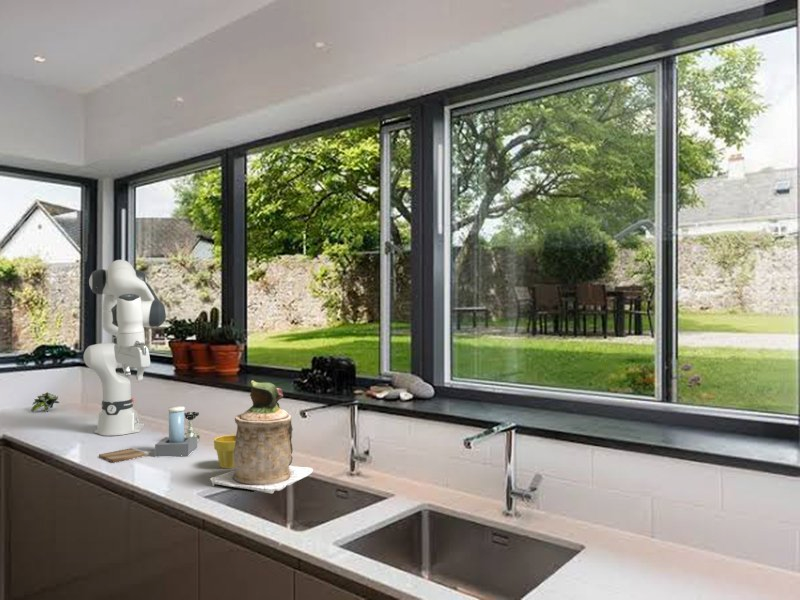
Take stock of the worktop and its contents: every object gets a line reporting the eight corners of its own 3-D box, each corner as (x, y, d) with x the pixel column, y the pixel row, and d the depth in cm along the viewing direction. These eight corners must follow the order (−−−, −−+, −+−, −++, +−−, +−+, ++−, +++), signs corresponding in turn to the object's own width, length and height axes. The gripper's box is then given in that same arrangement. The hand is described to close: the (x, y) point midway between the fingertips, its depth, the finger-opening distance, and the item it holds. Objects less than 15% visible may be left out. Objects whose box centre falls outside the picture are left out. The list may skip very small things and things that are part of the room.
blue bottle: (171, 450, 230) (171, 406, 230) (186, 450, 230) (186, 406, 230) (166, 454, 224) (166, 409, 224) (182, 454, 224) (182, 408, 224)
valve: (193, 445, 238) (193, 415, 238) (178, 444, 240) (178, 414, 240) (202, 441, 245) (202, 412, 245) (187, 440, 246) (187, 411, 246)
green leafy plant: (46, 420, 314) (60, 399, 320) (51, 419, 306) (65, 398, 312) (25, 409, 309) (39, 389, 315) (30, 408, 301) (44, 387, 307)
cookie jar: (275, 495, 178) (275, 387, 178) (207, 486, 186) (207, 383, 186) (315, 472, 201) (315, 377, 201) (252, 465, 210) (252, 374, 210)
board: (98, 457, 220) (98, 454, 220) (131, 450, 229) (131, 448, 229) (113, 463, 212) (113, 460, 212) (146, 456, 222) (146, 453, 221)
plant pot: (209, 470, 204) (209, 441, 204) (220, 461, 214) (220, 434, 214) (239, 470, 203) (239, 441, 203) (248, 462, 214) (248, 434, 214)
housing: (165, 448, 233) (165, 437, 233) (197, 448, 234) (197, 436, 234) (155, 456, 221) (155, 444, 221) (188, 456, 222) (188, 444, 222)
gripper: (154, 341, 210) (155, 380, 211) (127, 336, 223) (129, 372, 225) (136, 343, 205) (138, 383, 207) (110, 338, 219) (112, 375, 220)
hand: (133, 377), depth 216 cm, fingers open, 8 cm apart
